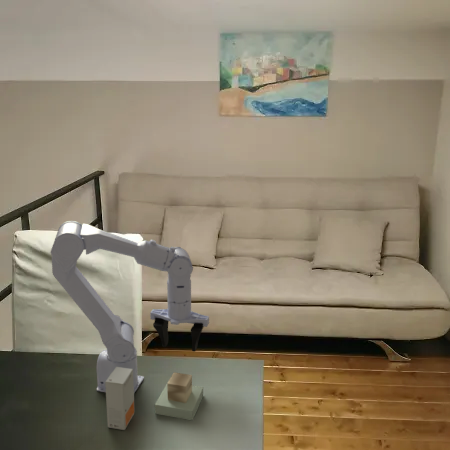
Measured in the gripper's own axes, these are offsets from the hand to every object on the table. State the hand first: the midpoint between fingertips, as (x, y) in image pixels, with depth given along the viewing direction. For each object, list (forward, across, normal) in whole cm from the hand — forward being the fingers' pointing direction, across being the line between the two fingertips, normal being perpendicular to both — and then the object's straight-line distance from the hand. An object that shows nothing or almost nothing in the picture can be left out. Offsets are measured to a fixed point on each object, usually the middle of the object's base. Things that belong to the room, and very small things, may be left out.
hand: (179, 347), depth 126 cm
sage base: (+9, +3, -10) cm, 14 cm away
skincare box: (+10, -8, -18) cm, 22 cm away
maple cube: (+7, +3, -9) cm, 12 cm away
